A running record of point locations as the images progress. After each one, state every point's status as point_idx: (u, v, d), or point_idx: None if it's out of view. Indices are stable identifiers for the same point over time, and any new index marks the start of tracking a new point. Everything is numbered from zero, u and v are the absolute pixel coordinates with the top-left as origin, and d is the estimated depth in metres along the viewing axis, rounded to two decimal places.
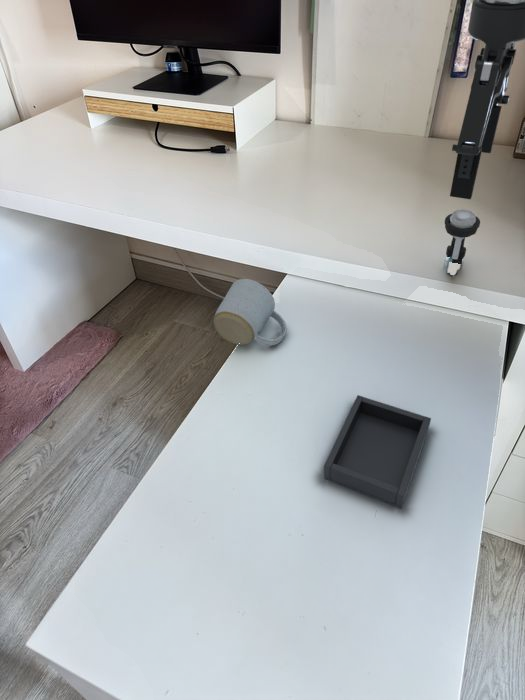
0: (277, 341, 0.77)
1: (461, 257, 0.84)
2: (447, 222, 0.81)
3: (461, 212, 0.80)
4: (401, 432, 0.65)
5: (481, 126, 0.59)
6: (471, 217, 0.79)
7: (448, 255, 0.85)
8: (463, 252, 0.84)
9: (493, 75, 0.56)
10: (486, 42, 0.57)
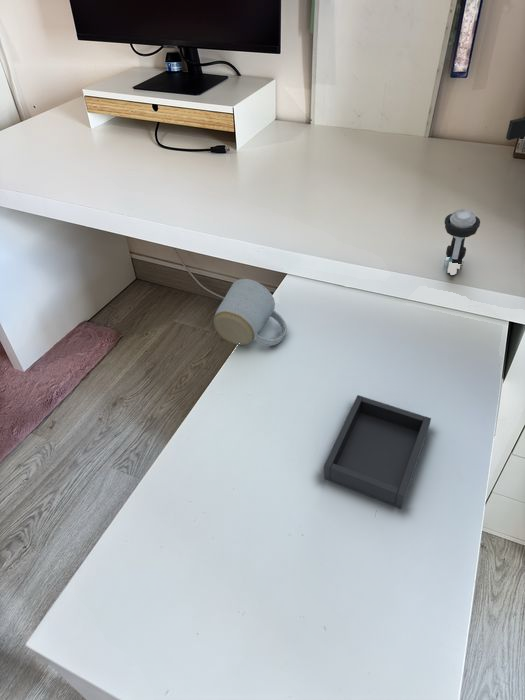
0: (277, 341, 0.77)
1: (461, 257, 0.84)
2: (447, 222, 0.81)
3: (461, 212, 0.80)
4: (401, 432, 0.65)
5: None
6: (471, 217, 0.79)
7: (448, 255, 0.85)
8: (463, 252, 0.84)
9: None
10: None
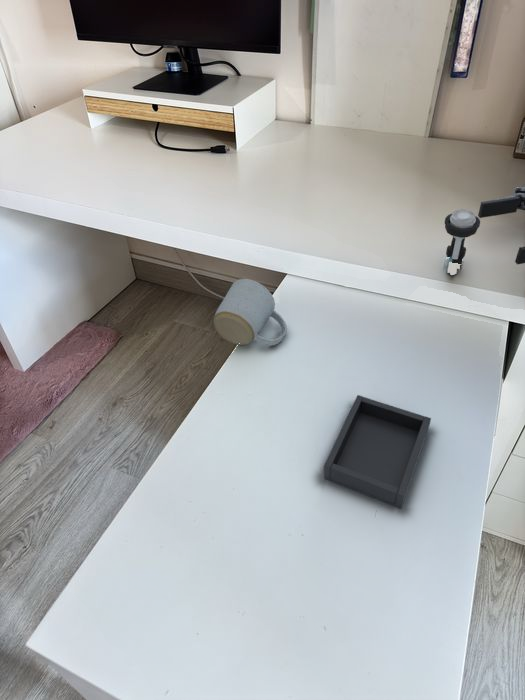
0: (277, 341, 0.77)
1: (461, 257, 0.84)
2: (447, 222, 0.81)
3: (461, 212, 0.80)
4: (401, 432, 0.65)
5: None
6: (471, 217, 0.79)
7: (448, 255, 0.85)
8: (463, 252, 0.84)
9: None
10: None
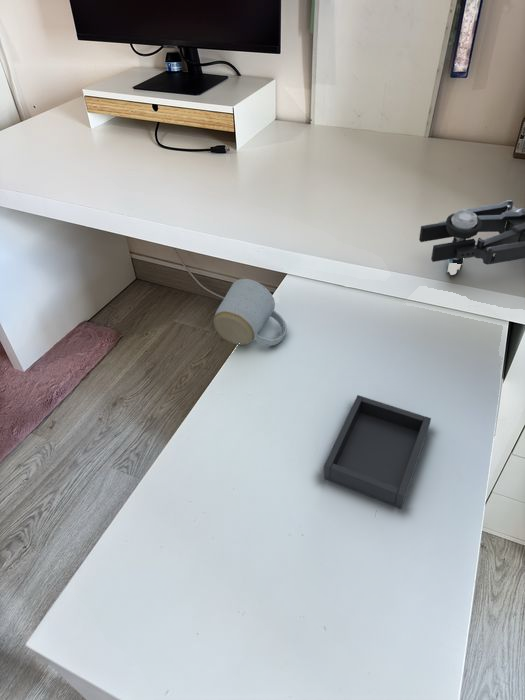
0: (277, 341, 0.77)
1: None
2: (448, 223, 0.80)
3: (463, 213, 0.80)
4: (401, 432, 0.65)
5: (504, 260, 0.79)
6: (473, 218, 0.79)
7: None
8: None
9: None
10: None
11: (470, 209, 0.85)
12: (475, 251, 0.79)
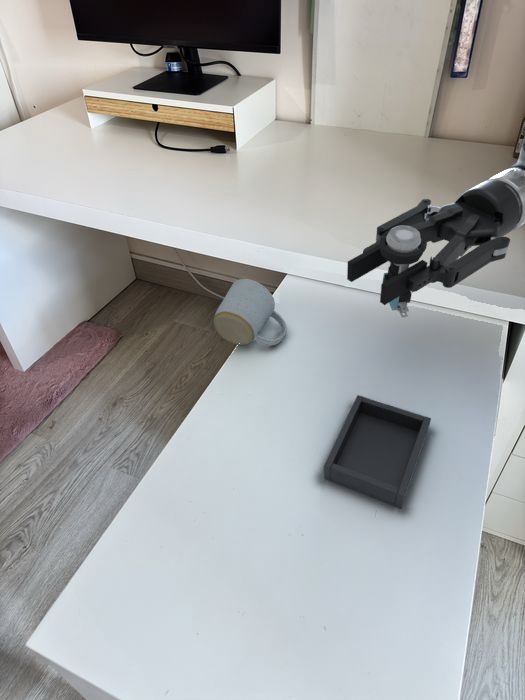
0: (277, 341, 0.77)
1: None
2: (386, 248, 0.58)
3: (398, 230, 0.58)
4: (401, 432, 0.65)
5: (467, 275, 0.59)
6: (415, 234, 0.57)
7: None
8: None
9: (498, 257, 0.61)
10: (503, 222, 0.63)
11: (389, 222, 0.65)
12: (432, 275, 0.58)
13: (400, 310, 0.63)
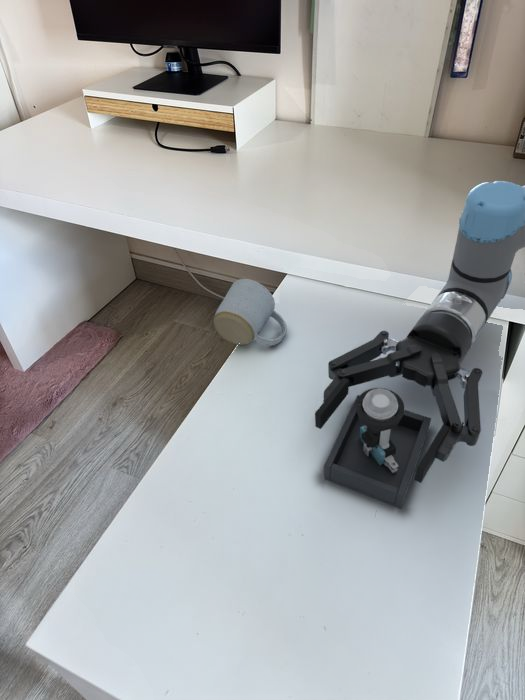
0: (277, 341, 0.77)
1: (388, 439, 0.61)
2: (367, 419, 0.56)
3: (373, 396, 0.57)
4: (401, 432, 0.65)
5: None
6: (391, 398, 0.56)
7: (374, 446, 0.60)
8: None
9: None
10: (461, 355, 0.64)
11: (342, 357, 0.65)
12: (457, 439, 0.56)
13: (388, 464, 0.61)
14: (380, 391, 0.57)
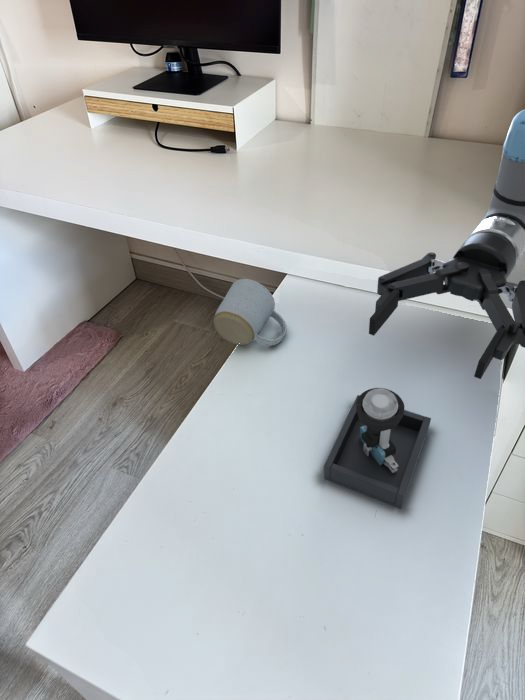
0: (277, 341, 0.77)
1: (388, 439, 0.61)
2: (367, 419, 0.56)
3: (373, 396, 0.57)
4: (401, 432, 0.65)
5: None
6: (391, 398, 0.56)
7: (374, 446, 0.60)
8: None
9: None
10: (507, 271, 0.67)
11: (391, 273, 0.68)
12: (513, 340, 0.59)
13: (388, 464, 0.61)
14: (380, 391, 0.57)
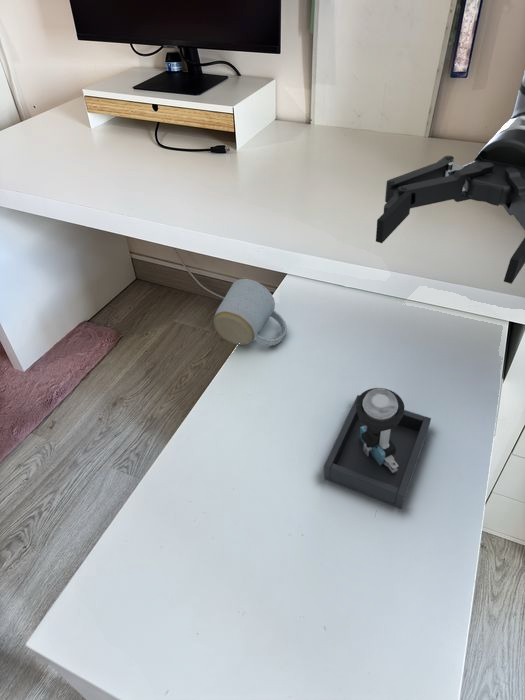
0: (277, 341, 0.77)
1: (388, 439, 0.61)
2: (367, 419, 0.56)
3: (373, 396, 0.57)
4: (401, 432, 0.65)
5: None
6: (391, 398, 0.56)
7: (374, 446, 0.60)
8: None
9: None
10: None
11: (402, 176, 0.58)
12: None
13: (388, 464, 0.61)
14: (380, 391, 0.57)
